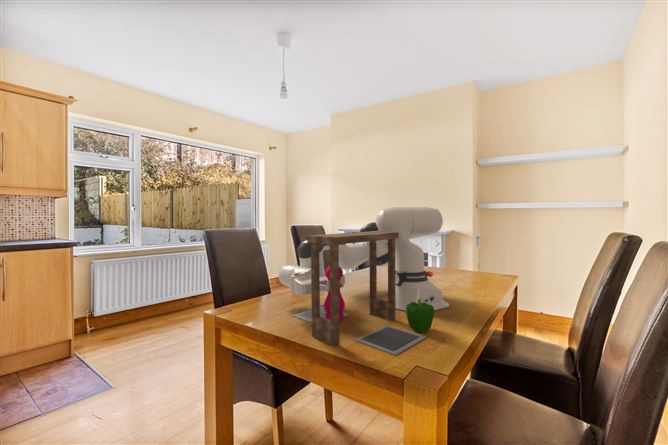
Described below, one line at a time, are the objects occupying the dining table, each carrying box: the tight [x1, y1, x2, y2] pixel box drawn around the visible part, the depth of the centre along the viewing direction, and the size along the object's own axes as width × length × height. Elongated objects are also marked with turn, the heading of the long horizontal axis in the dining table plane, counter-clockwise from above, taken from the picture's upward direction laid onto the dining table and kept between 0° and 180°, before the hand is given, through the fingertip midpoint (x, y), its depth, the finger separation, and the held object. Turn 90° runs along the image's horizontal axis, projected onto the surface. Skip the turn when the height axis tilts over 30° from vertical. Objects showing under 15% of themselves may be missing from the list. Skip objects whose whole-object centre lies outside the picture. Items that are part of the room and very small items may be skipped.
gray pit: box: [353, 324, 427, 357], centre depth 88 cm, size 14×16×1 cm
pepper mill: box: [323, 265, 346, 323], centre depth 104 cm, size 7×7×20 cm
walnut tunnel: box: [306, 231, 399, 347], centre depth 97 cm, size 12×30×30 cm, turn 135°
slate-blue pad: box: [292, 305, 349, 324], centre depth 110 cm, size 14×14×1 cm
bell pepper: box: [405, 299, 435, 333], centre depth 95 cm, size 8×8×10 cm
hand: (335, 286), depth 103 cm, fingers closed on pepper mill, 5 cm apart
